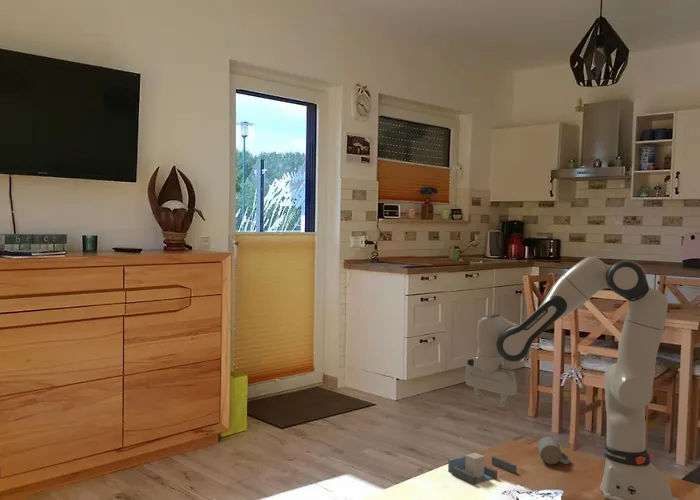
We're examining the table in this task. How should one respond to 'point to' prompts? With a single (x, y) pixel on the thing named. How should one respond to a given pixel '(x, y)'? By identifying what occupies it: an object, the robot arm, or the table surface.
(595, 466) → the table surface
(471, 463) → the cord plug
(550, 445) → the ceramic mug
